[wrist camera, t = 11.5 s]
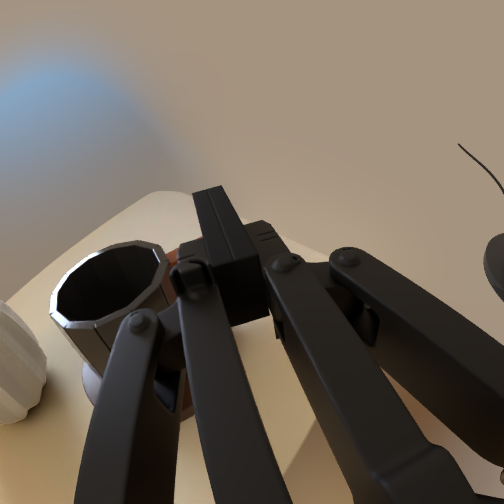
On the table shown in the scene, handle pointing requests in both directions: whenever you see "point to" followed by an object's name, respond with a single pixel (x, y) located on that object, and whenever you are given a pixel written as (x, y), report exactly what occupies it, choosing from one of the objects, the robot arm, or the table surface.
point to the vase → (18, 367)
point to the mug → (110, 296)
